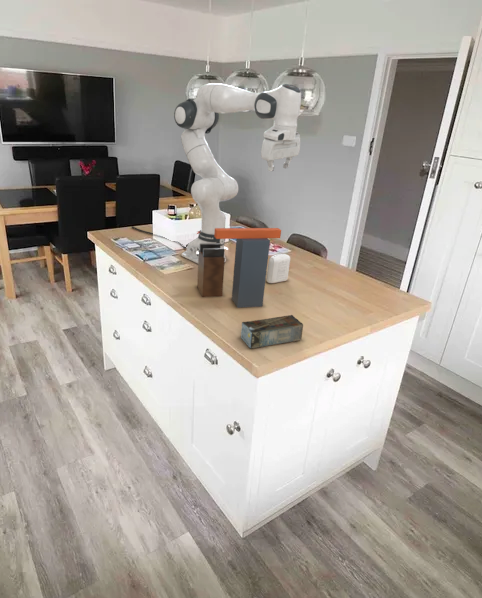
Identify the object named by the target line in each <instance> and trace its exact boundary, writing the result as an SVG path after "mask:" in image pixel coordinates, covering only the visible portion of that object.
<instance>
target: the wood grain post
mask: <svg viewBox="0 0 482 598" xmlns="http://www.w3.org/2000/svg"><path fill="white" fill-rule="evenodd" d="M220 246H221V244H220V243H200V250H199V258H198V264H197V286H196V287H197V290H198V292H199V293H200V296H201V297H202V298H211V297H212V298H213V297H222V296H223V290H224V273H225V263H226V262H225V257H226V256H225V257H224V249H225V248H220Z"/></svg>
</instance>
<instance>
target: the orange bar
mask: <svg viewBox="0 0 482 598" xmlns="http://www.w3.org/2000/svg"><path fill="white" fill-rule="evenodd" d="M281 235H282V229H280V228H279V227H225V228H215V233H214V237H215V238H216V239H225V240H236V239H254V238H268V239H281Z"/></svg>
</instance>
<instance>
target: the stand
mask: <svg viewBox="0 0 482 598" xmlns="http://www.w3.org/2000/svg"><path fill="white" fill-rule="evenodd" d="M235 241H236V242H235V254H234V264H233V278H232V292H231V301H232V302H233V303H234V305H235V307H236V308H237V309H241V308H259V307H263V305H264V297H265V289H266V288H265V287H266V281H267V280H266V279H267V270H268V262H269V253H270V244H271V240H270V238H254V239H235Z"/></svg>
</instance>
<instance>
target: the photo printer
mask: <svg viewBox="0 0 482 598" xmlns="http://www.w3.org/2000/svg"><path fill="white" fill-rule="evenodd" d="M290 265H291V256H290V255H289V254H286V253H277V254H274V255H272V256H270V257H268V263H267V271H266V280H265V281H266V282H267V284H275V283H282V282H285V281H288V280H289V279H288V278H289V271H290Z"/></svg>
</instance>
